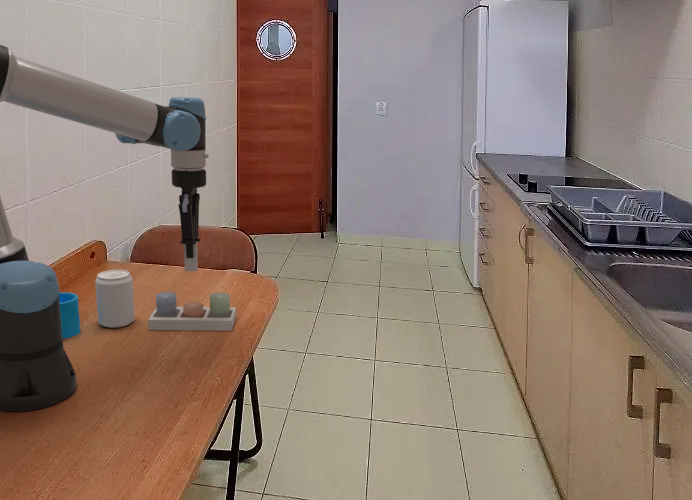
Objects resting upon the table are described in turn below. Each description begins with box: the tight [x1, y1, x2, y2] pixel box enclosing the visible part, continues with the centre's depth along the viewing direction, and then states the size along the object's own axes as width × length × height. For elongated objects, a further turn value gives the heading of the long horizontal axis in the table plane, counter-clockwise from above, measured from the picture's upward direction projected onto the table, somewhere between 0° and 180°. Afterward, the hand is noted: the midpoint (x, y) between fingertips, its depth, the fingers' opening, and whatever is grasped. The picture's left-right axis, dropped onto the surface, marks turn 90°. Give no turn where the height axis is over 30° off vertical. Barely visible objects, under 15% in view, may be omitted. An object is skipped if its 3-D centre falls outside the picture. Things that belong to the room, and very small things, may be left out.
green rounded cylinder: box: [209, 292, 231, 314], centre depth 154 cm, size 5×5×4 cm
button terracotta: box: [182, 301, 204, 318], centre depth 155 cm, size 5×5×4 cm
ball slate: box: [155, 291, 178, 314], centre depth 154 cm, size 5×5×4 cm
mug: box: [59, 292, 81, 340], centre depth 149 cm, size 12×8×8 cm
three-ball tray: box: [147, 306, 237, 332], centre depth 155 cm, size 9×19×2 cm, turn 93°
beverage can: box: [94, 269, 135, 329], centre depth 153 cm, size 8×8×12 cm
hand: (191, 270), depth 152 cm, fingers closed
